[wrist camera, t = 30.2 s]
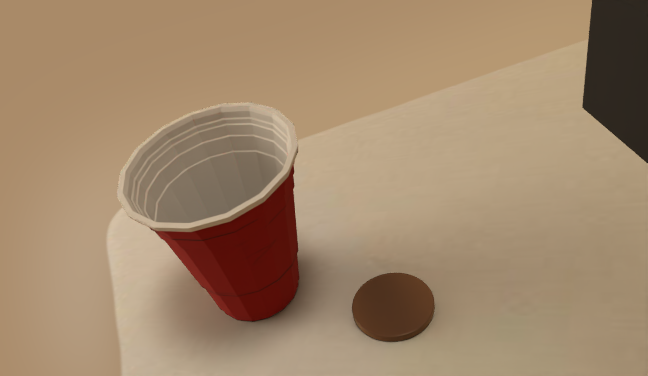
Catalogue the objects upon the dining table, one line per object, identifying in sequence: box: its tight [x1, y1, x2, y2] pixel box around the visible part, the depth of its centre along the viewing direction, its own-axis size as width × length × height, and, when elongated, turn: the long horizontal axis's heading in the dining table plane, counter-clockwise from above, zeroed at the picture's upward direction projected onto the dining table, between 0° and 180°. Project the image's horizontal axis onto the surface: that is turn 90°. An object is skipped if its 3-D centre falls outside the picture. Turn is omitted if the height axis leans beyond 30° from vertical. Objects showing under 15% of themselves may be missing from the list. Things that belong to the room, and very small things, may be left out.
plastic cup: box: [117, 102, 299, 321], centre depth 38 cm, size 11×11×12 cm
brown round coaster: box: [352, 273, 435, 341], centre depth 39 cm, size 5×5×1 cm
